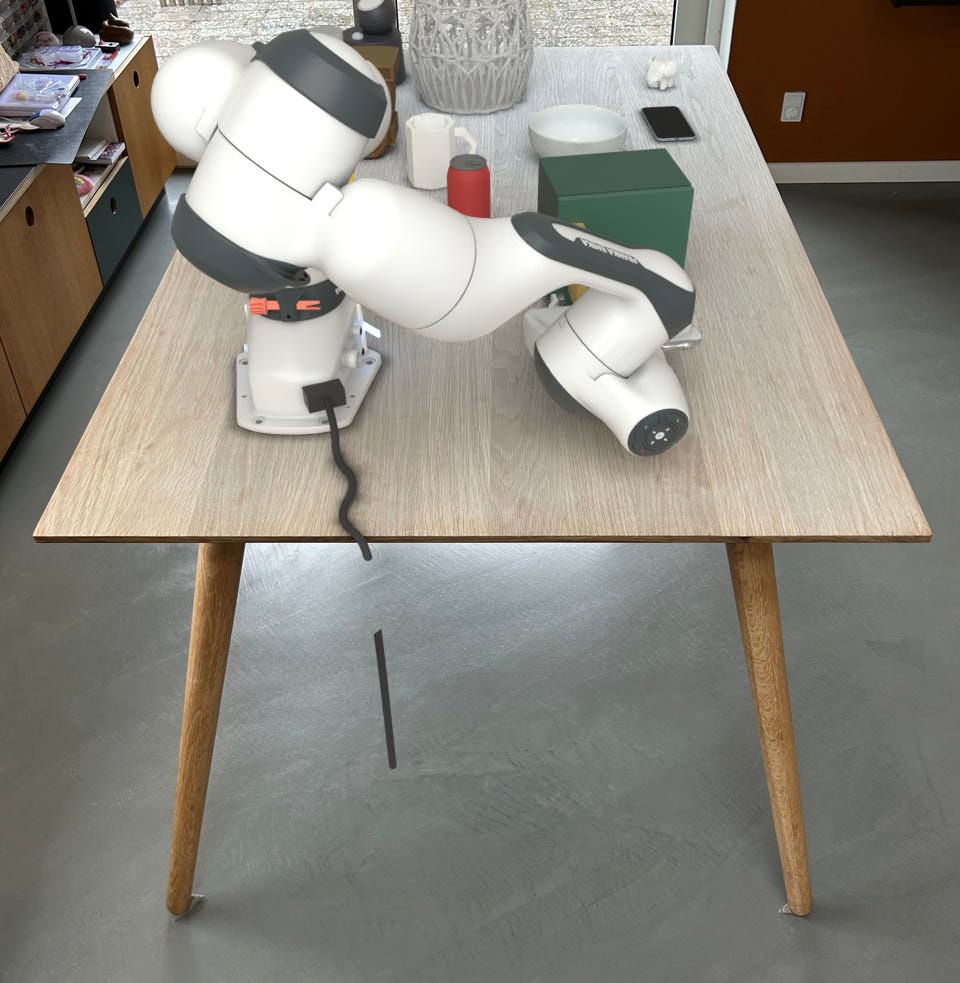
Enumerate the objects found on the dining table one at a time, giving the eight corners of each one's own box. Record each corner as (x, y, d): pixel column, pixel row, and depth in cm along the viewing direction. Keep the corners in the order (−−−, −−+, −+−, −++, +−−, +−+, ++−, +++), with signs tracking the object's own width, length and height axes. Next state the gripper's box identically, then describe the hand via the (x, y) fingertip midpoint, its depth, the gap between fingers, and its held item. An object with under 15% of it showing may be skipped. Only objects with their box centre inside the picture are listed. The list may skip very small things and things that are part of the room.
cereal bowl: (514, 173, 180) (515, 133, 176) (543, 137, 192) (544, 99, 188) (610, 187, 176) (613, 146, 171) (634, 149, 188) (637, 110, 183)
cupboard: (677, 298, 148) (691, 183, 137) (552, 309, 146) (557, 194, 135) (653, 257, 157) (665, 147, 146) (535, 268, 155) (538, 157, 144)
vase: (476, 66, 222) (473, -93, 202) (557, 96, 208) (563, -72, 188) (386, 95, 209) (375, -71, 190) (467, 129, 196) (463, -47, 176)
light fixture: (316, -2, 206) (370, -17, 214) (324, 80, 216) (376, 63, 224) (361, 11, 199) (415, -5, 207) (367, 96, 209) (419, 77, 217)
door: (691, 321, 143) (707, 206, 132) (562, 333, 141) (568, 218, 130) (677, 298, 147) (692, 185, 137) (553, 309, 145) (557, 196, 135)
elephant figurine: (634, 88, 211) (637, 58, 207) (660, 78, 215) (663, 48, 211) (660, 97, 207) (663, 66, 203) (686, 86, 211) (689, 56, 207)
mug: (408, 190, 176) (405, 133, 169) (408, 169, 182) (405, 113, 176) (479, 188, 176) (478, 130, 170) (477, 167, 182) (476, 111, 176)
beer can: (486, 246, 160) (485, 171, 152) (444, 243, 161) (441, 168, 153) (494, 227, 165) (494, 153, 157) (453, 224, 166) (451, 150, 158)
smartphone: (657, 138, 189) (640, 107, 201) (656, 142, 190) (640, 110, 201) (696, 136, 190) (677, 105, 201) (696, 140, 190) (677, 109, 201)
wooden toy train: (405, 136, 193) (400, 43, 182) (399, 162, 185) (393, 65, 174) (298, 136, 194) (286, 43, 183) (287, 161, 185) (274, 65, 175)
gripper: (710, 322, 121) (674, 265, 131) (536, 339, 118) (514, 279, 129) (703, 368, 125) (669, 309, 135) (535, 385, 122) (514, 323, 133)
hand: (592, 295), depth 132 cm, fingers open, 8 cm apart
